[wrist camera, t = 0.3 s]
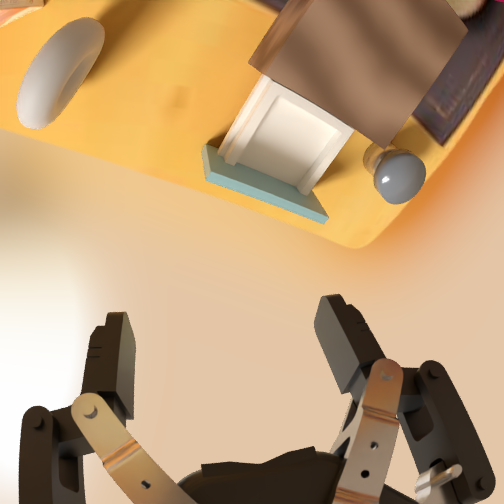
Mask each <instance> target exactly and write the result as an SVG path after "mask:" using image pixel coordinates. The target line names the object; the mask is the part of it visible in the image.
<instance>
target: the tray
mask: <svg viewBox="0 0 504 504" xmlns="http://www.w3.org/2000/svg"><path fill="white" fill-rule="evenodd" d="M353 131H354V129H353V127H351V126H350V125H348V124H347V123H345V122H344V121H342V120H341V119H339V118H338V117H336V116H335V115H333V114H331V113H330V112H328V111H327V110H325V109H324V108H322V107H320V106H319V105H317V104H315V103H314V102H312V101H310V100H309V99H307V98H305V97H304V96H302V95H300V94H298V93H297V92H295V91H293V90H291V89H290V88H288V87H286V86H284V85H282V84H280V83H279V82H277V81H275V80H273V79H271V78H269V77H267V76H265V75H264V74H262V75H261V77H260V78H259V80H258V82H257V83H256V85H255V87H254V88H253V90H252V92H251V93H250V95H249V97H248V98H247V100H246V102H245V103H244V105H243V107H242V108H241V110H240V112H239V114H238V115H237V117H236V119H235V121H234V122H233V124H232V126H231V128H230V129H229V131H228V133H227V135H226V137H225V138H224V140H223V142H222V144H221V146H220V147H219V149H218V148H216V147H213V146H210V145H208V144H205V146H204V148H203V150H202V152H201V153H202V159H203V166H204V172H205V179H206V181H208V182H211V183H214V184H217V185H219V186H222V187H225V188H228V189H231V190H234V191H236V192H239V193H242V194H245V195H248V196H250V197H253V198H256V199H258V200H261V201H264V202H267V203H269V204H272V205H275V206H277V207H280V208H283V209H285V210H288V211H290V212H293V213H296V214H298V215H301V216H303V217H306V218H308V219H311V220H314V221H316V222H319V223H321V224H324V223H325V222H326V221H327V220H328V218H329V217H328V215H327V213H326V212H325V210H324V209H323V207H322V205H321V204H320V202H319V201H318V199H317V197H316V196H315V194H314V193H313V191H312V188H313V187H314V186H315V184H316V183H317V181H318V180H319V179H320V177H321V176H322V175H323V173H324V172H325V170H326V169H327V168H328V166H329V165H330V163H331V162H332V161H333V159H334V158H335V157H336V155H337V154H338V152H339V151H340V150H341V148H342V147H343V145H344V144H345V143H346V141H347V140H348V138H349V137H350V136H351V134H352V133H353Z"/></svg>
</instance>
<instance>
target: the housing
mask: <svg viewBox="0 0 504 504" xmlns="http://www.w3.org/2000/svg"><path fill="white" fill-rule="evenodd" d="M467 32H468V29H467V28H466V26H465V25H464V23H463V22H462V21H461V19H460V18H459V17H458V15H457V14H456V13H455V12H454V10H453V9H452V8H451V6H450V5H449V4H448V3H447V2H446V0H289V1H288V2H287V3H286V5H285V6H284V8H283V9H282V11H281V12H280V14H279V15H278V17H277V18H276V20H275V21H274V23H273V24H272V26H271V27H270V29H269V30H268V32H267V33H266V35H265V36H264V38H263V39H262V41H261V42H260V44H259V46H258V47H257V49H256V50H255V52H254V54H253V55H252V57H251V58H250V60H249V62H248V63H249V64H250V65H252V66H253V67H254V68H256V69H257V70H258V71H260V72H261V73H262V74H264V75H265V76H267V77H269V78H271V79H273V80H275V81H277V82H279V83H280V84H282V85H284V86H286V87H288V88H290V89H291V90H293V91H295V92H297V93H298V94H300V95H302V96H304V97H305V98H307V99H309V100H310V101H312V102H314V103H315V104H317V105H319V106H320V107H322V108H324V109H325V110H327V111H328V112H330V113H331V114H333V115H335V116H336V117H338V118H339V119H341V120H342V121H344V122H345V123H347V124H348V125H350V126H351V127H353V128H354V129H356V130H357V131H359V132H360V133H362V134H363V135H364V136H366V137H367V138H369V139H370V140H371V141H373V142H374V143H376V144H377V145H378V146H380V147H381V148H382V149H384V150H385V149H386V148H387V146H388V145H389V144H390V142H391V141H392V140H393V138H394V137H395V135H396V134H397V133H398V131H399V130H400V129H401V127H402V126H403V125H404V123H405V122H406V120H407V119H408V118H409V116H410V115H411V114H412V112H413V111H414V109H415V108H416V107H417V105H418V104H419V102H420V101H421V100H422V98H423V97H424V95H425V94H426V92H427V91H428V90H429V88H430V87H431V85H432V84H433V82H434V81H435V80H436V78H437V77H438V75H439V74H440V72H441V71H442V69H443V68H444V66H445V65H446V63H447V62H448V61H449V59H450V58H451V56H452V55H453V53H454V52H455V50H456V49H457V47H458V46H459V44H460V43H461V41H462V39H463V38H464V36H465V35H466V33H467Z"/></svg>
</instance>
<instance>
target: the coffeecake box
mask: <svg viewBox="0 0 504 504" xmlns="http://www.w3.org/2000/svg"><path fill="white" fill-rule="evenodd" d="M42 7H44V1H43V0H0V28H1V27H3V26H5V25H7V24H9V23H11V22H13V21H15V20H17V19H19V18H21V17H23V16H25V15H27V14H29V13H31V12H33V11H36V10H38V9H40V8H42Z"/></svg>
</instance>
